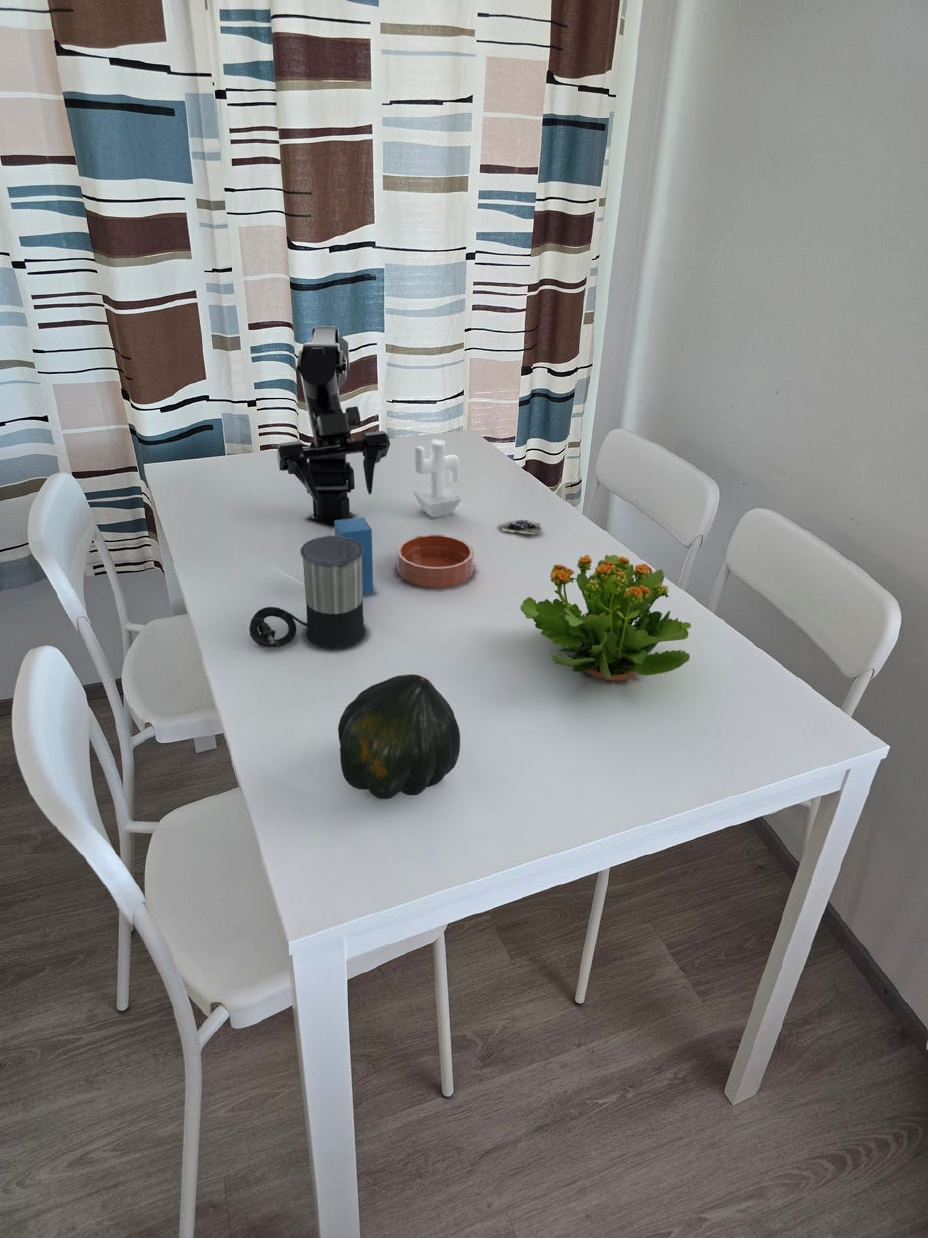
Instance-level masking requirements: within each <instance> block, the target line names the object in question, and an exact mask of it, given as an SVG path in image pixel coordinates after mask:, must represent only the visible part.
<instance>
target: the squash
mask: <svg viewBox="0 0 928 1238" xmlns="http://www.w3.org/2000/svg"><path fill="white" fill-rule="evenodd" d="M337 732H338V742H339V745H340V747H339V756H340V757H339V759H340V767H341V771H342V775H343V778H344V780H345V781H346V782H347V784H348V785H350V786H351V787H352V788H354V789H356V790H360V791H369V792H370V794H371V795H372V796H373V797H375V798H376V799H379V800H389V799H392V798H394V797H396V796H397V795H398V794H400V792H401V793H402V794H403V795H406V796H412V797H413V796H418V795H420V794H421V793H423V791H425V790H426V789H427V788H430V787H433V786H435V785H437V784H439V783H440V782H441V781H442V780H443V779H444V778H445V776H447V775H448V774H450V772H451V771H452V770H453V769H454V768H455V767H456V765H457V762H458V759H459V756H460V751H461V732H460V727H459V724H458V720H457V719H456V717H455V713H454V710H453V709H452V707H451V705H450V703H449V701H447V699H446V698H445V697H444V696H443V695H442V693H440V691H439V690H437V688H436V687H435V686H434V685H433V683H432V682H431V681H430V680H429V679H428V678H426V677H424V676H422V675H419V674H400V675H396V676H392V677H390V678H388V679H386V680H383V681H381V682H378V683H375V684H372V685H370V686H369V687H367V688H365V689H363V690H362V691H361V692H360V693H359V694H358V695H357V696H356V697H355V698H354V699H353V700H352V701H351V702H350V703H349V704H347V706H346V707H345V709H344V710H343V713H342V714H341V716H340V719H339V722H338V726H337Z"/></svg>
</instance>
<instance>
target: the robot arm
mask: <svg viewBox="0 0 928 1238" xmlns="http://www.w3.org/2000/svg"><path fill="white" fill-rule="evenodd" d="M311 329H312V333H311V334H312V336H310V337H309V339H308V340H306V342H305V343H303V344H302V347H301V349H302V350H298V355H297V362H296V370H297V374H298V375H300V380H301V385H302V389H303V395H304V400H305V404H306V409H307V414H308V419H309V423H310V428H311V433H312V438H313V441H312V442H310V444H309V446H307V447H306V446H305V447H303V443H302V441H301V440H295V441H289V442H280V443H279V444H278V446H277V454H276V455H277V456H276V458H277V465H278V469H279V471H282V472H284V471H285V472H286V471H287V473H288V475H294V476H295V477H296V478H297V479H298V480H299V482H300V483H301V484H302V485H303V486H304V488H305V489H306V494H309V495H310V497H311V498H312V512H313V513H312V514H310V515H308V520H311V521H314V522H316V523H317V522H318V523H320V524H321V523H322V524H324V525H327V526H330V527H335V524H334V521H335V520H343V519H351V518H352V517H353V516H354V513H353V512H351V510H350V509H351V508H350V497H349V496H348V493H349V494H350V493H352V491H353V490H355V485H356V484H355V469H354V468H353V466H352V465H351V461H347V455H351V454H359V453H362V457H364V458H363V461H362V465H363V472H364V479H365V485H366V490H367V494H368V495H369V496H370V495H372V492H373V483H374V474H375V473H374V472H375V466H376V464H379V463H380V462H381V459H383V458H385V457H387V454H388V452H389V449H390V446H391V442H390V438H389V434H388V433H387V432H385V430H378V431H377V430H376V431H370V432H369V431H368V432H364V433H363V436H362V439H361V440H356V441H349V439H351V437H352V434H351V433H352V428H358V427H361V425H362V421H361V414H360V410H359V406H357V405H356V406H349V407H346V408H345V412H344V411H343V408H342V406H341V401H340V395H339V394H340V392H339V390H340V389H342V387H343V386H344V384H345V383H346V382H347V371H350V347H349V342H348V341H347V340H346V339H345V338H343V337H342V336H341V335H340V330H339V327H336V326H335V325H334V326H333V325H331V326H330V325H329V326H328V325H316V326H315V327H312V328H311Z"/></svg>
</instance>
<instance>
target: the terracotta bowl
mask: <svg viewBox="0 0 928 1238" xmlns="http://www.w3.org/2000/svg"><path fill="white" fill-rule="evenodd" d="M474 553H475V552H474V550H473V547H472V545H470V543H468V542H467V541H465V540H463V539H460V538H458V537H455V536H450V535H444V534H425V535H418V536H414V537H412V538H408V539H406V540H404V541H403V542H401V543H400V544H399V546H398V548H397V550H396V560H397V561H396V565H397V566H396V567H397V568H396V569H397V573H398V575H399V576H400V577H401V578H402V579H403V580H404V581H405V582H408V583H410V584H412V585H414V586H418V587H424V588H434V589H442V588H449V587H454V586H458V585H460V584H463V583H465V582H466V581H467V580H468V579H470V578H471V577H472V575H473V572H474V558H475V556H474V555H475V554H474Z"/></svg>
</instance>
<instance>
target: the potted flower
mask: <svg viewBox="0 0 928 1238" xmlns="http://www.w3.org/2000/svg"><path fill="white" fill-rule="evenodd" d="M630 561H631V560H630V559H629V558H628V557H625V556H622V555H621V556H619V555H616V554H611V555H608V554H606V555H605V556H604V560H603V559H600V560H599V561H598V562H597V566H595V568H594V571H593V574H590V575H589V577H588V576H587V571H590V570H592V568H591V566H592V562H593V559H592V558H591V556H590V555H588V554H585V555H584V556H580V558H578V560H577V568H578V569H579V570H580V573H578V574H577V575H576V577H573V576H572V575H574V574H575V573H576V572H575V571H574V570H573V569H571V568H568V567H566V565H563V564H554V565H553V566H552V569H551V572H550V573H549V574H550V575H549V576H550V582H552V583H553V584H554V585H555V586H556V588H557V589H555V590H554V593H555V594H556V595H558V597H559V598H554V599H553V601H550V599H548V598H546V599H544V600H540V601H538V602H537V601H536V600H535V599H534V598H532V597H531V596H528V597H527V598H525V599H524V600H523V601H522V604H521V605H520V611H521V612H522V613H523V615H525V618H526V619H530V620H531V619H532V620H533V622H534V623H535V624H534V627H535V628H536V629H538V630H542V631H540V635H542V637H545V638H546V639H548V640H551V641H552V643H553V644H557V645H559V646H561V647H562V648H558V649H556V650H555V651H556V652H565V655H566V656H567V657H564V656H561V655H557V654H553V653H550V654H549V656H550V658H551V661H552V662H553V664H554V665H556V666H565V667H573V668H572V672H573V673H584V672H585V673H588V674H589V675H590V676H592V677H595V678H597V679H600V680H605V681H609V682H611V681H616V682H620V681H627V680H631V679H632V678H634V677H635V676H637V675H638V674H639V675H641V676H656V675H661V674H665V673H669V672H672V671H675V670H676V669H678V668H680V667H682V666H684V664H685V663H687V662H689V661H690V658H691V656H690V655H691V654H689V653H688V652H687V651H686V650H681V649H678V650H675V649H673V650H665V651H662V652H660V653H659V651H656V652H654V653H651V652H652V651H653V650H654V649H655V647H656V646H657V645H658V644H659V643H664V642H674V641H682V640H683V641H684V640H686V639H688V637H689V629H690V628H691V627H692V624H691V623H690V622H688V621H685V622H683V621H681V620H679V617H676V618H675V619H672V618H670V614H671V610H668V611H667V612H666V613H665V615H664V616H663V613H662V612H660V611H659V610H655V611H651V610H650V609H651V607H652V606H653V605H654V603H655V602H656V601H657V600H658V599H659V598H661V597H665V598H669V597H670V596H669V594H668V593H669V590H668V589H669V585H664V584H663V583H664V579H665V576H666V575H665V573H664V570H663V569H657V570H655V571H654V572H653V570H652V568H651V566H649V565H648V564H645V563H640V564H635V565H634V564H633V563H630ZM634 566H635V567H634ZM571 576H572V577H571ZM574 581H575V582H576V583H577V587H578V589H579V591H580V592H581V594H582V598H583V600H584V603H585V605H586V609H587V612H585V613H582V610H581V609H580V607H579V605H577V603H573V604H571V603H569V601H568V597H567V590H566V585H568V584H571V583H574ZM562 590H563V594H562ZM662 616H663V617H662ZM633 623H634V624H633ZM578 645H579V646H578ZM568 653H576V655H577V656H572V655H570V654H568ZM649 653H650V654H649Z"/></svg>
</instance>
